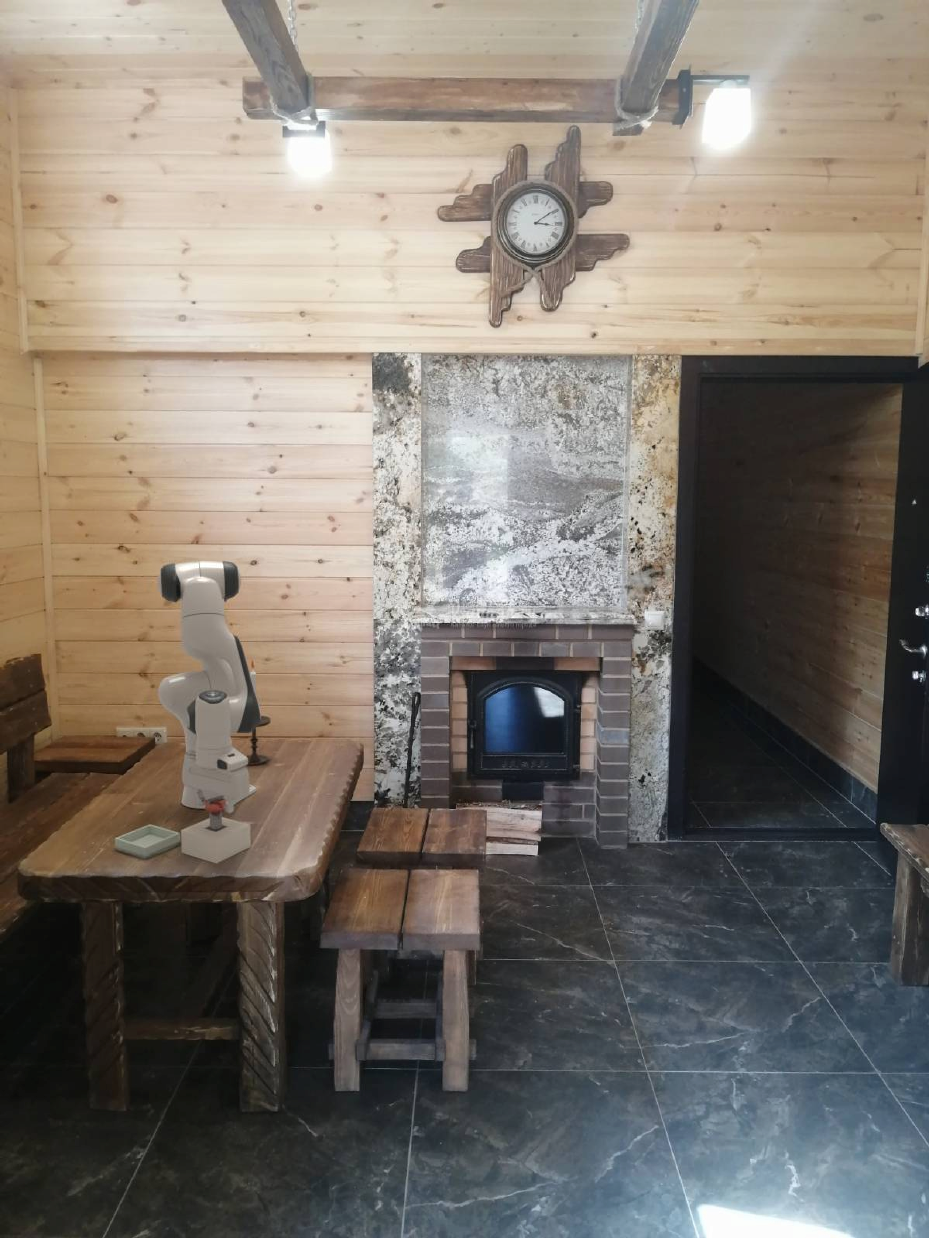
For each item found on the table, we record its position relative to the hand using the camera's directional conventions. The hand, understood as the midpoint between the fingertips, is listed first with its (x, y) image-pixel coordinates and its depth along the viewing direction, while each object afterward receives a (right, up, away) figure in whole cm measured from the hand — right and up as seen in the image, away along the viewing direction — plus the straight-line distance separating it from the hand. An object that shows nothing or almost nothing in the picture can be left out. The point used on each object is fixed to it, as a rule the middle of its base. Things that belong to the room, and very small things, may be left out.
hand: (215, 808), depth 225 cm
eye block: (0, -11, +2) cm, 11 cm away
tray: (-18, -11, +3) cm, 21 cm away
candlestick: (-7, 0, +73) cm, 73 cm away
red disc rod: (0, -11, +2) cm, 11 cm away
